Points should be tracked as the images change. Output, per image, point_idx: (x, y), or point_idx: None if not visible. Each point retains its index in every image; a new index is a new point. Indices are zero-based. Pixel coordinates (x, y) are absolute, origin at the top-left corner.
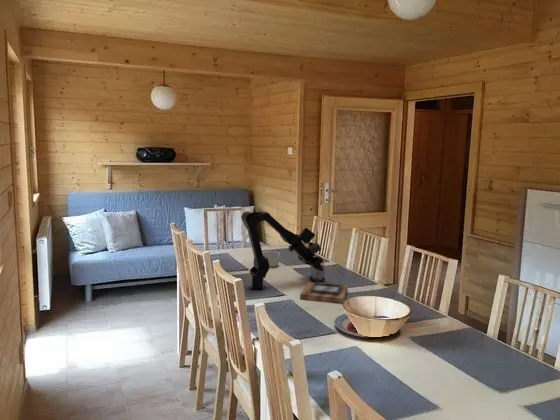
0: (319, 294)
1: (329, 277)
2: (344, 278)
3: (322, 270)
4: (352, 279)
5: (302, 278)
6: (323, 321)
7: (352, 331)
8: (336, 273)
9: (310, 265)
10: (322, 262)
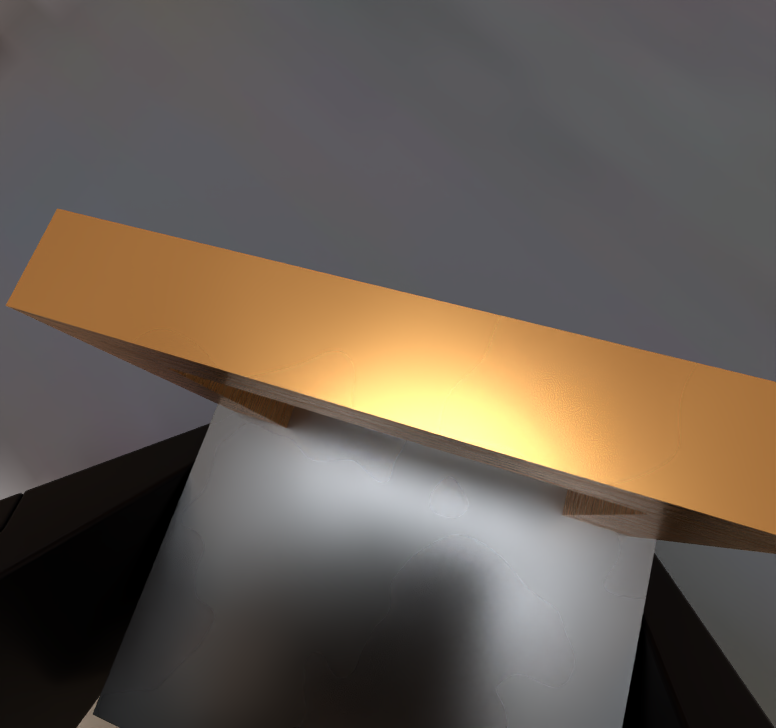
0: None
1: (392, 224)
2: (568, 84)
3: None
4: (676, 27)
5: None
6: None
7: None
8: (319, 31)
9: (95, 700)
10: (639, 521)
